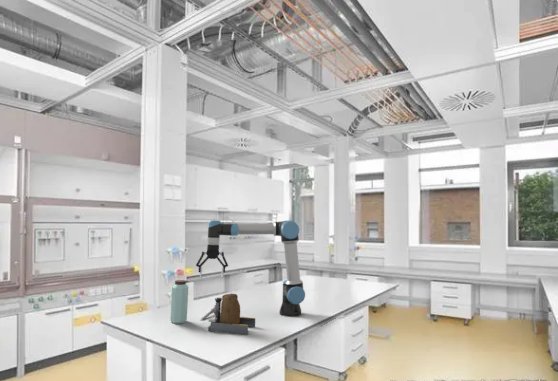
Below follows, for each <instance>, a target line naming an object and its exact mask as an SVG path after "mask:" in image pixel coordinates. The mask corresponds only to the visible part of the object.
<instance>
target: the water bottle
mask: <svg viewBox="0 0 558 381" xmlns="http://www.w3.org/2000/svg"><path fill="white" fill-rule="evenodd" d="M188 302H189V285H188V284H187V280H186V279H176V280H175V281H174V285H173V286H172V287H171V302H170V304H171V305H170V323H172V324H175V325H176V324H180V325H181V324H184V323H186V321H187V319H188V306H189V303H188Z"/></svg>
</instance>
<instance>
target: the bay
mask: <svg viewBox="0 0 558 381" xmlns="http://www.w3.org/2000/svg"><path fill="white" fill-rule="evenodd" d="M249 328H256V318H255V317H248V316H240V323H239V324H228V323H217V322H210V325H208V327H207V332H211V333H212V332H214V333H223V334H232V335H241V336H242V335H245V336H248V334H249Z"/></svg>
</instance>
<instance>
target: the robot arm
mask: <svg viewBox="0 0 558 381" xmlns="http://www.w3.org/2000/svg"><path fill="white" fill-rule="evenodd" d="M299 234H300V227H299V225H298V223H296V221H294V220H289V219H288V220H283V221H274V222H273V223H271V222H270V223H266V222H265V223H264V222H263V223H221V221H220V220H215V219H211V220H209V221H208V226H207V246H206V251H202V252H201V255H200V257H199V259H198V260H197V262H196V264H195V266H196V267H197V268H198V273H199V278H200V279H202V274H203V267H202V266H203V265H204V264H205V263H206V262H207V261H208V260H215V259H216V260H218V262H219V263H220V265H221V266H222V267H221V275H220V276H221V279H224V273H225V272H226V268H227V267H229V264H228V262H227V260H226V257H225V255H224V254H225V253H224V251H221V252H220V236H231V237H234V236H235V237H237V236H239V235H273V236H274V237H276V236H277V237H278V236H279V237H280V239H281V243H282V244H283V247H284V248H283V249H284V260H285V270H286V272H285V273H286V279H284V280H283V281H282V300H281V301H282V302H281V305H280V308H279V314H280V315H281V316H284V317H293V318H294V317H300V316H302V308H301V305H300V304H302V302H304V300H305V298H306V292H305V289H304V283H303V280H302V279H301V275H300V274H301V273H300V264H299V255H298V254H299V253H298V252H299V251H298V245H297V244H298V242H299V240H300V238H299V237H300V236H299ZM205 255H207V256H206V257H205V258H204V259H203V257H204V256H205ZM219 255H220V256H221V257H222V260H223V261H222V260H221V259H220V257H219ZM202 259H203V260H202ZM223 262H224V263H223Z"/></svg>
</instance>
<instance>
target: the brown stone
mask: <svg viewBox="0 0 558 381" xmlns="http://www.w3.org/2000/svg"><path fill="white" fill-rule="evenodd" d="M221 298H222V301H221V311H220V313H221V316H220V323H228V324H239V323H240V317H241V305H240V302H239V300H238V298H239V297H238V295H237V294H236V293H226V294H223V295H222V296H221Z"/></svg>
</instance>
